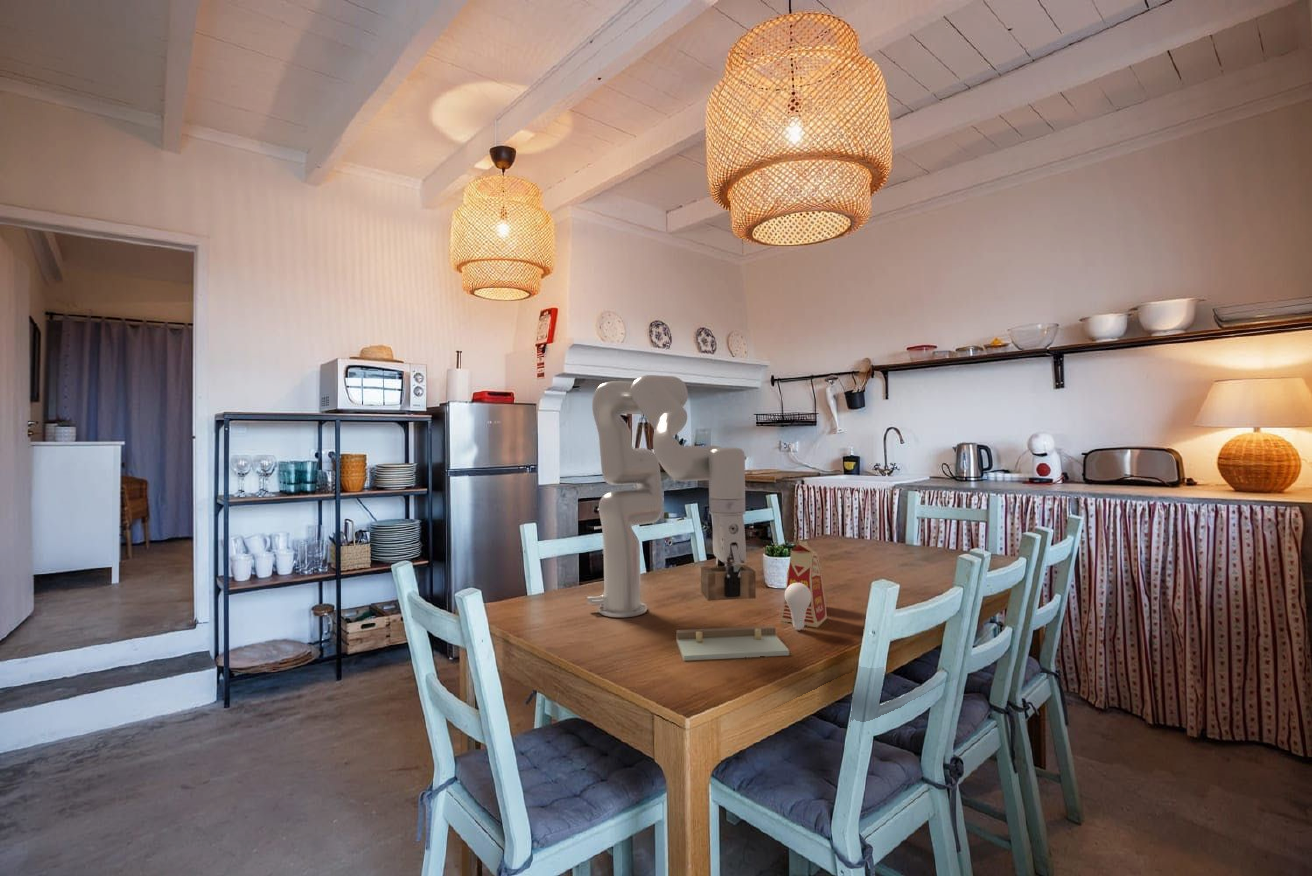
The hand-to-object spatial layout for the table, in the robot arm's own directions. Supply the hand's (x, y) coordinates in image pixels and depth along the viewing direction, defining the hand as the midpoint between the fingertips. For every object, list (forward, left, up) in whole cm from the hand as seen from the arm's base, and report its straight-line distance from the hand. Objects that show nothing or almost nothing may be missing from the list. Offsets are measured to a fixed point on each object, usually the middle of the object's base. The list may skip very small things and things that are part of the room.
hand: (727, 591), depth 131 cm
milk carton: (+23, +21, -13) cm, 34 cm away
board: (+1, +3, -13) cm, 13 cm away
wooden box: (0, 0, -1) cm, 1 cm away
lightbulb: (+19, +13, -13) cm, 26 cm away
